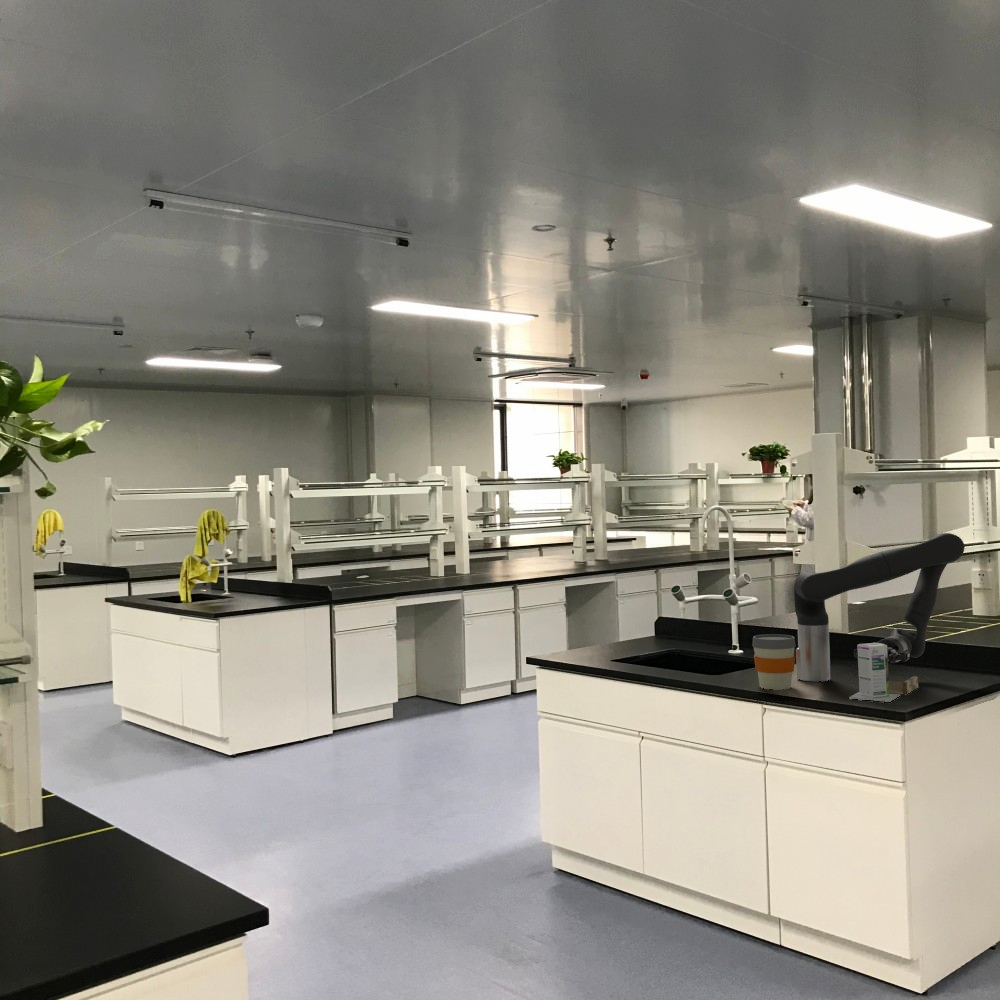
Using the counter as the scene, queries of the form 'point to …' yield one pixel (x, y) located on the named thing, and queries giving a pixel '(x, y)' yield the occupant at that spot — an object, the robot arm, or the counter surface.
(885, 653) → the syrup box
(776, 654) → the reusable coffee cup
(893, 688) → the maple sleeve
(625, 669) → the counter surface
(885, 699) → the grey mat
